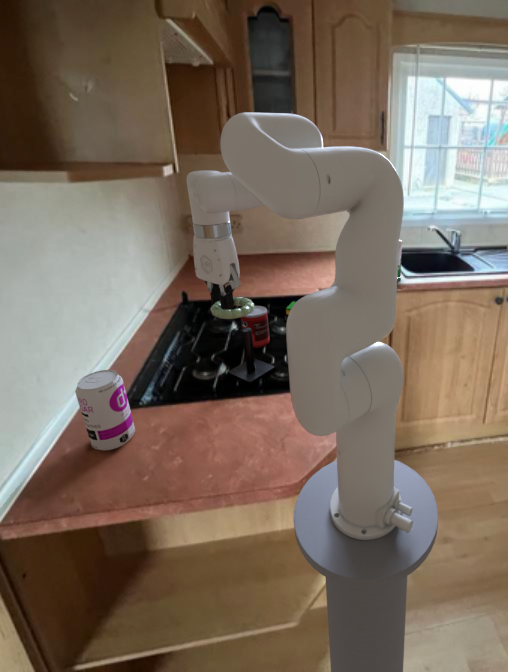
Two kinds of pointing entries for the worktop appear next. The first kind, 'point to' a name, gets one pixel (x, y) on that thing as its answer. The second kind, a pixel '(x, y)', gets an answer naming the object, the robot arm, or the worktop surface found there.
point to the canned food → (257, 326)
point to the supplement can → (105, 409)
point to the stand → (250, 363)
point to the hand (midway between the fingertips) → (223, 307)
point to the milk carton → (399, 259)
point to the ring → (234, 313)
